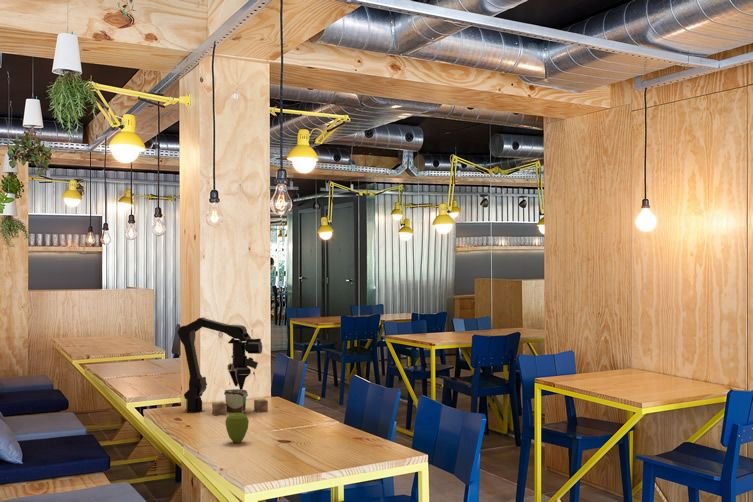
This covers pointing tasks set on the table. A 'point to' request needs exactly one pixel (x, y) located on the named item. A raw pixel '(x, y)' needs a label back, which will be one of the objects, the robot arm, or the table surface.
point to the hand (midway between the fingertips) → (238, 387)
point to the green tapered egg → (237, 426)
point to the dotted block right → (261, 405)
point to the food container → (235, 400)
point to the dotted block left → (219, 408)
